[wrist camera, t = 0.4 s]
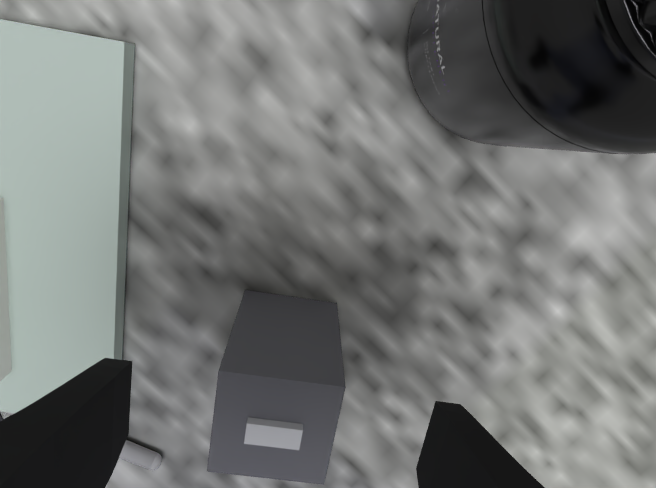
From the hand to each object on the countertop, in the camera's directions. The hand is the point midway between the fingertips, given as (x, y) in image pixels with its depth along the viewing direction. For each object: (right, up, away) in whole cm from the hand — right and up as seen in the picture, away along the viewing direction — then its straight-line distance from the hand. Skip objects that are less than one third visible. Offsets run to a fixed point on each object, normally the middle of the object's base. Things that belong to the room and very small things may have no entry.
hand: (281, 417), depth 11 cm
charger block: (-1, 0, +10) cm, 10 cm away
